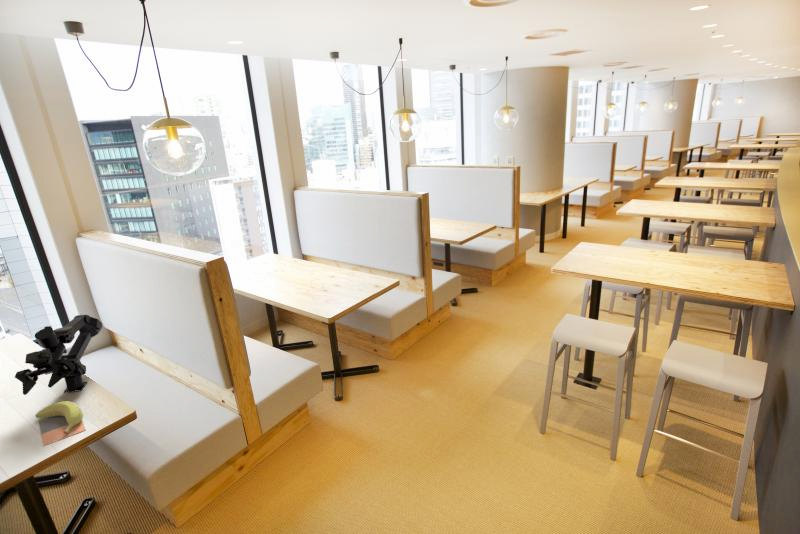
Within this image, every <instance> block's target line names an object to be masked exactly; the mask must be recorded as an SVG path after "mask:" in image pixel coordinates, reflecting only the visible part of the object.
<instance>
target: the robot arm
mask: <svg viewBox="0 0 800 534" xmlns="http://www.w3.org/2000/svg"><path fill="white" fill-rule="evenodd" d="M101 330H103V322H102V321H100V320H99V318H96V317H92V316H90V315H89V314H80V315H79V314H78V315H74V317H73V319H71V320H70V321H68V323H67V324H65V325H64V326H62V327H59V328H56V329H55V328H54V329H53V327H52V325H50V326H48V325H47V326H44V328H42V329H40V330H38V331H37V332H35V334H34V338H35V339H36V341H37V342H38V344H39V346H41V348H43V349H41V350H38V351H37V350H36V351H33V352H29V353H26V354H25V361H24V363H25V364H30V365H32V367H33V368H34V369H35V370H34V369H33V370H31V369H30V368H26V369H24V370H20V371H17V372H16V374H15V376H14V378H15V379H16V380H18V381H20V382H21V383H22V394H23V395H24V396H25V395H27V394H28V393H29V392H30V391H31V390H32V389H33V388H34V386H35V385H36V384H37V381H38V380H39V376H41V375H50V377H49V378H50V379H49V381H48V383H47V384H48V386H47V387H48V388H53V386H54V385H56V384H57V383H58V382H60V381H61V380H62V379H64V381H65V387H66V388H65V389H64V391H63V393H65V394H66V393H73V392H78V391H77V390H80V391H83V389H84V388H85V386H86V385H87V384H86V383H88V381H84V380H83V375H85V374H87V373H86V372H87V366H86V365H85V364H83V363H82V361H81V359H82V357H83V355H84V353H85V351H86V349H87V347H88V346H89V343H90V342H91V340H92V338H94V337H95V336H97V335H99V333H100V332H101ZM77 332H79V334H78V335H77V337H76V336H75V334H76V333H77ZM75 337H76V339H75ZM74 339H75V341H74ZM73 341H74V343H73V345H72V346H71V348H70V349H69V352H68V350H67V349H66V348H67V347H66V345H65V344H71V343H72V342H73ZM85 384H86V385H85ZM84 385H85V386H84ZM83 387H84V388H83ZM82 388H83V389H82ZM72 391H73V392H72Z"/></svg>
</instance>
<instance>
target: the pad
mask: <svg viewBox="0 0 800 534" xmlns="http://www.w3.org/2000/svg"><path fill="white" fill-rule="evenodd" d="M67 427H68V425H66V426H63V427H60V428H57V429H55V430H52V431H49V432H46V433H43V434H41V433H40V435H41V440H42V445H43V447H44V446H48V445H49V444H53V443H56V442H58V441H60V440H64V439H66V438H69V437H71V436H74V435H77V434H79V433H82V432H85V431H86V428H85V424H84V422H83V420H81V421H80V422H79V423H78V424H77V425H75V426H73V427H72V428H71V429H70V431H69V434H64V433H63V432H64V431H65V430H66V429H67Z"/></svg>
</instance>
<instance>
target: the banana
mask: <svg viewBox="0 0 800 534" xmlns="http://www.w3.org/2000/svg"><path fill="white" fill-rule="evenodd" d="M53 416H64V417H65V418H66V420H67V423H68V424H69V425H68V427H67V429H66V430H65V431H64V432H63V433H64V434H69V431H70V429H71V428H72V427H73V426H75V425H77V424H78V423H79V422H80V421H81V420H82V419H83V417H84V414H83V411H82V409H81V408H80V406H78V405H77V404H76V403H74V402H72V401H67V400H65V401H58V402H55V403H52V404H49V405H47V406H45V407H43V408H42V409H41V410H39V411H38V412H37V413H36V414H35V418H36V419H44V418H45V419H46V418H50V417H53ZM82 421H83V420H82Z"/></svg>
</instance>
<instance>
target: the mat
mask: <svg viewBox="0 0 800 534" xmlns="http://www.w3.org/2000/svg"><path fill="white" fill-rule="evenodd" d="M38 425H39V429H40V435H41V434H43V433H46V432H49V431H52V430H55V429H57V428H60V427H63V426H66V425H69V424H68V423H67V420H66V418H65V417H64V416H50V417H46V418H45V419H44V418H43V419H41V420H39V421H38Z"/></svg>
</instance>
